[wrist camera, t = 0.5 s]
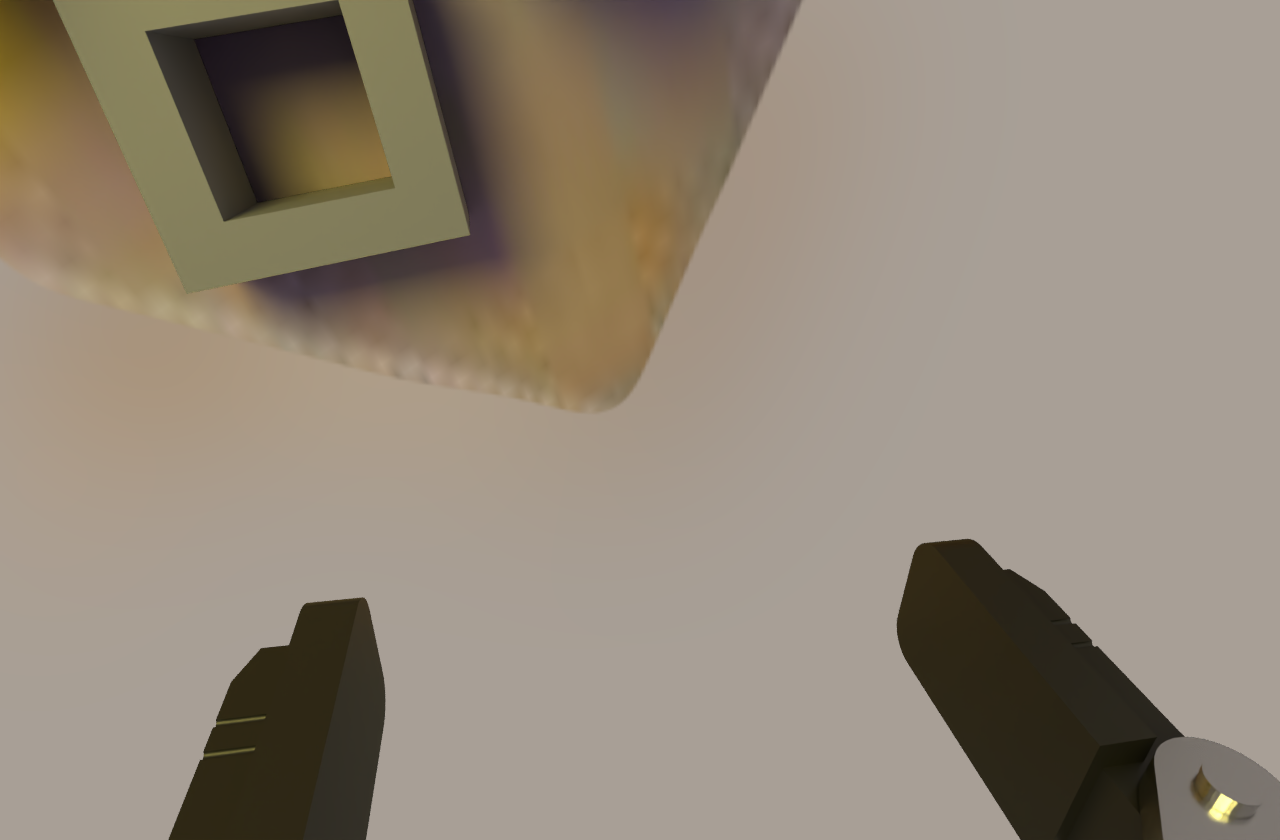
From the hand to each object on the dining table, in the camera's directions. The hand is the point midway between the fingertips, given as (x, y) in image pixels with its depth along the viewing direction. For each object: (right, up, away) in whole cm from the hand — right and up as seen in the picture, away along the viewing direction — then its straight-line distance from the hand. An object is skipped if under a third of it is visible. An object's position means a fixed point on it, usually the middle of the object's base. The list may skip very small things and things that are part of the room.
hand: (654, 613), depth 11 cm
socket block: (-14, +16, +20) cm, 29 cm away
